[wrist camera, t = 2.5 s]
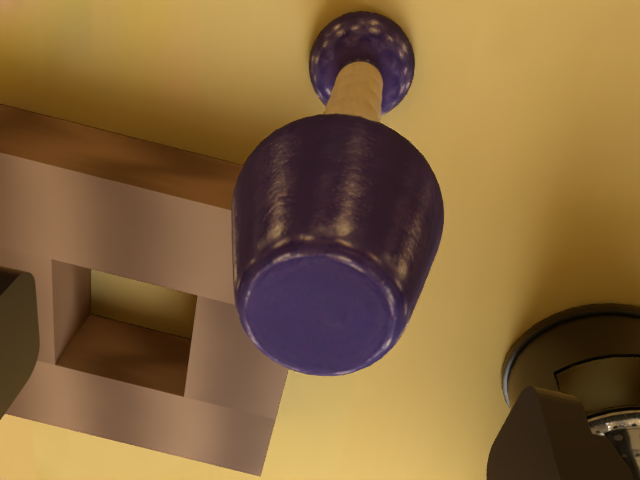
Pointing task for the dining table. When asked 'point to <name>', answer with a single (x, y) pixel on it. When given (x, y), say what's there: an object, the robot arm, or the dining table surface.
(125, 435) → the socket block
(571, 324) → the french press
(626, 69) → the dining table surface
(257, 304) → the toy lamp
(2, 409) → the robot arm
